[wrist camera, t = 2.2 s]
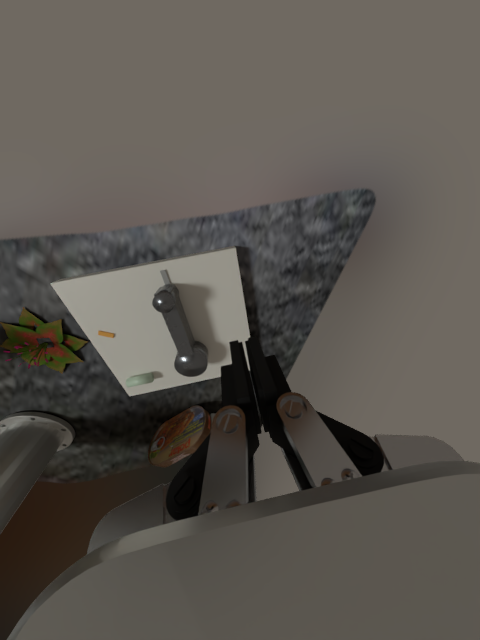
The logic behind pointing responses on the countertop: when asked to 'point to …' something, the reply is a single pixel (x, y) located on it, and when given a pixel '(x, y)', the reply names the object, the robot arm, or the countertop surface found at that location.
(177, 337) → the grey knobbed bar
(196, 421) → the tin
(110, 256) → the countertop surface
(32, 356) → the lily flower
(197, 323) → the base
